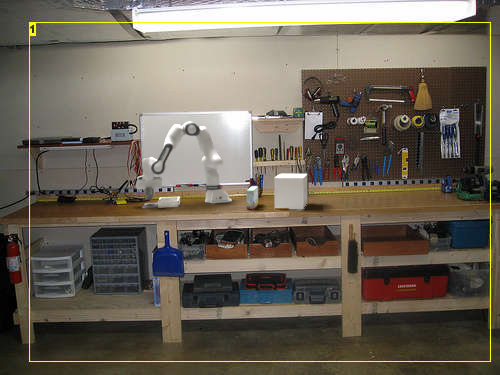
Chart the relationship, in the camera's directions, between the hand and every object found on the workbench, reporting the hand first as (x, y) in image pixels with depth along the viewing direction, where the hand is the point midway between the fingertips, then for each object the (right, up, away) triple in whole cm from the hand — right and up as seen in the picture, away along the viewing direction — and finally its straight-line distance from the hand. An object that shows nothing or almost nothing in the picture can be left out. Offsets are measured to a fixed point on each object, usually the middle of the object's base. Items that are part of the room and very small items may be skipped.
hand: (149, 194), depth 301 cm
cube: (+113, -10, -13) cm, 114 cm away
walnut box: (0, -4, +1) cm, 4 cm away
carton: (+15, -9, +3) cm, 18 cm away
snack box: (+83, -10, -12) cm, 85 cm away
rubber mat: (0, -10, +2) cm, 10 cm away
